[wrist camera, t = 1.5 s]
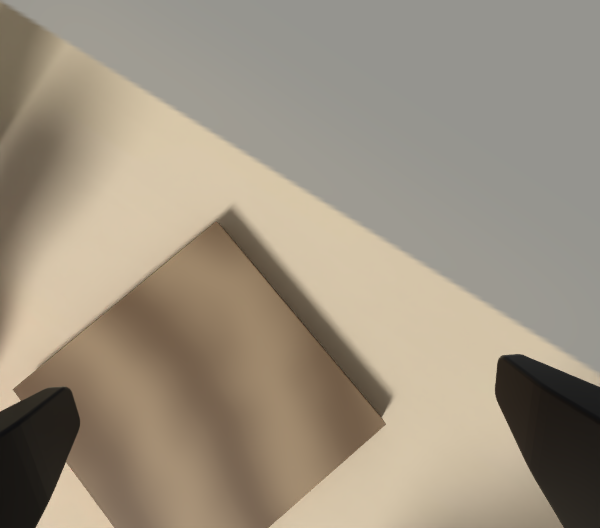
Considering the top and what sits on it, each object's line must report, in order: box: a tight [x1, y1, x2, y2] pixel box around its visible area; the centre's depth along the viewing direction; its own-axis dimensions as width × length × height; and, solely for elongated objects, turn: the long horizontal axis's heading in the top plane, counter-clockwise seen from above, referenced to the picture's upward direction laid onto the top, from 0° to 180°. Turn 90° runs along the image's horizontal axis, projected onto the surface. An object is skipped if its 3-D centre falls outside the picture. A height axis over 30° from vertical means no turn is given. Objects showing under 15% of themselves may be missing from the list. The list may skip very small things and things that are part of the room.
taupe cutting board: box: [13, 222, 386, 528], centre depth 22 cm, size 14×14×1 cm
